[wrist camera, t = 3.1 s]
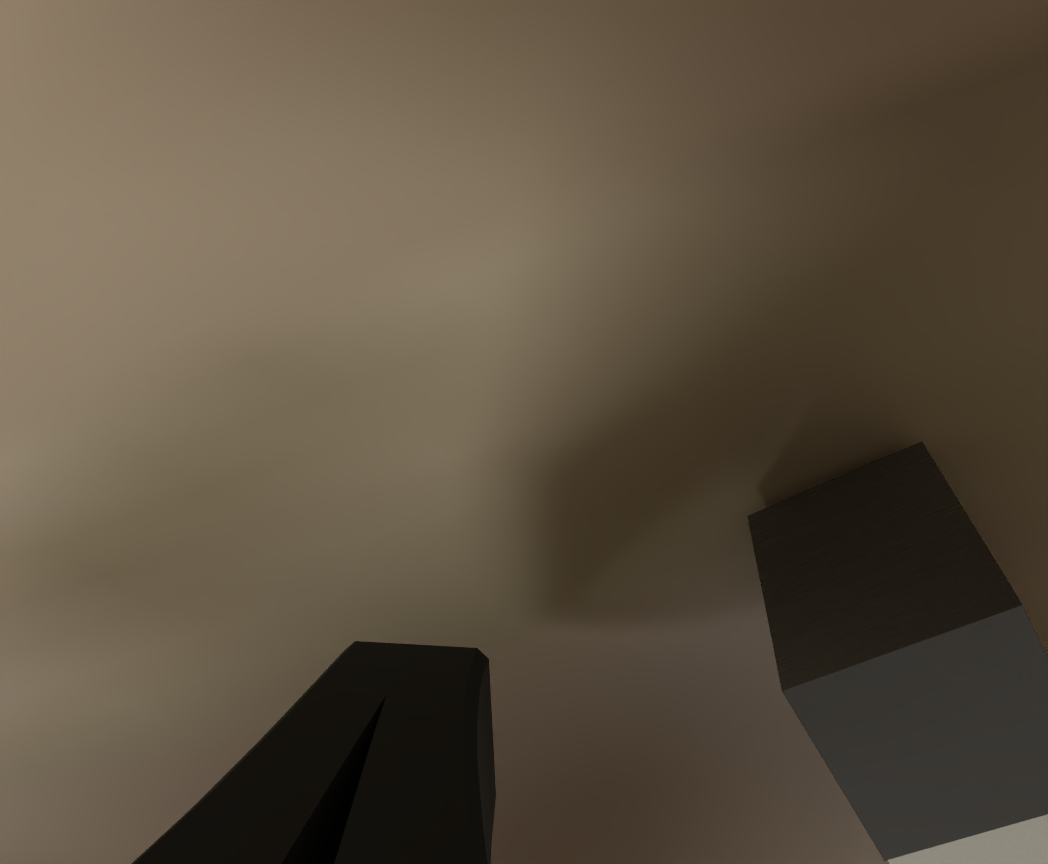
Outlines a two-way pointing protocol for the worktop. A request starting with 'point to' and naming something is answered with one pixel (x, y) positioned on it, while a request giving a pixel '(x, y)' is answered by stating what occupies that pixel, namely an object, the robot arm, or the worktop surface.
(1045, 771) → the hinged tong arm
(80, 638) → the worktop surface
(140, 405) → the worktop surface
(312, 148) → the worktop surface
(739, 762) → the worktop surface
